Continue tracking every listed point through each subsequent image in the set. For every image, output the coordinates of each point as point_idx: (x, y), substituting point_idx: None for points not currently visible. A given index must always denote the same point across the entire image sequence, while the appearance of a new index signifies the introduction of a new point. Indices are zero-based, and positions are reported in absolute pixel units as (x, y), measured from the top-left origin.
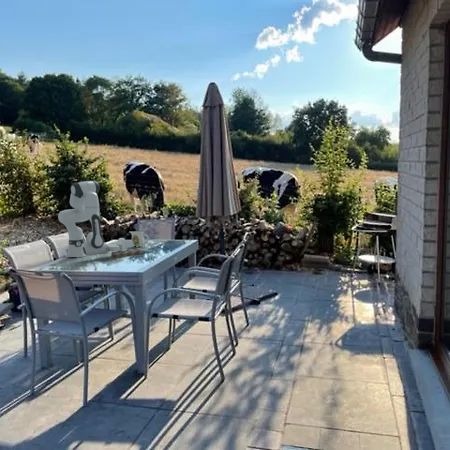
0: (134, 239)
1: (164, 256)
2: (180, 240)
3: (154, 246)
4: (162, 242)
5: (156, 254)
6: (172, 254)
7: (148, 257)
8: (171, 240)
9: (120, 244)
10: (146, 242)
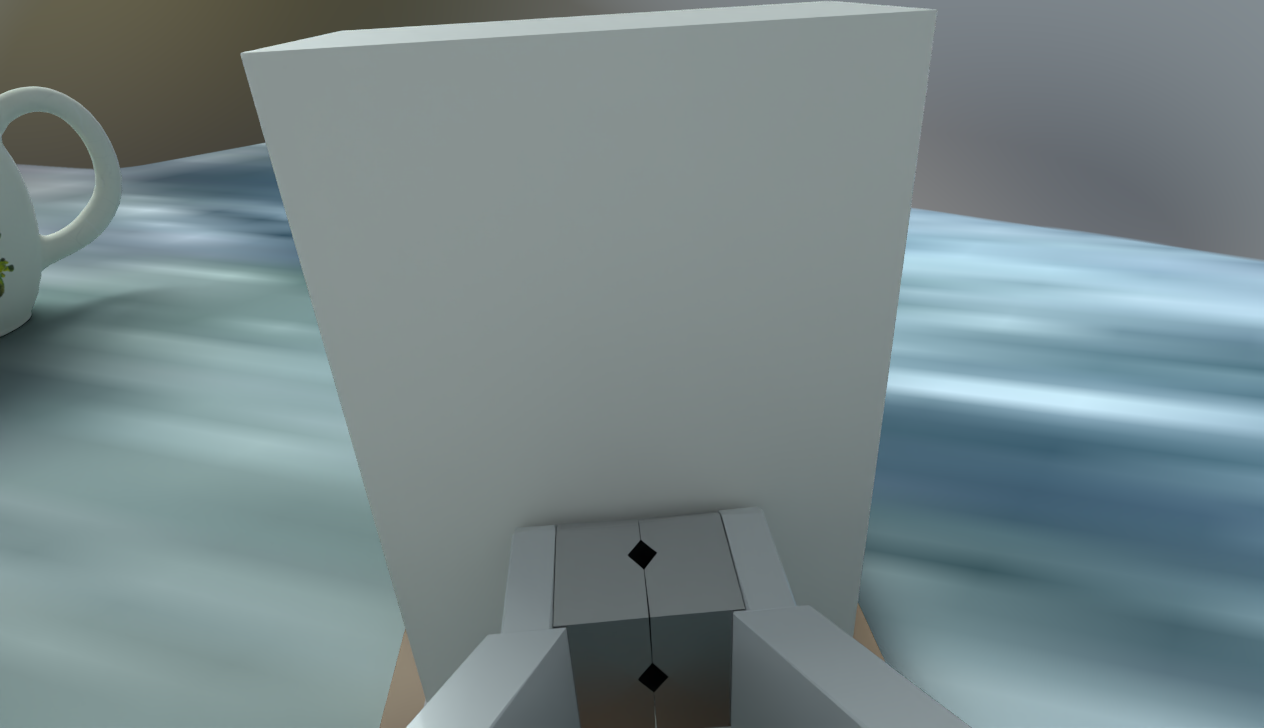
0: None
1: (1163, 273)
2: (236, 153)
3: (240, 247)
4: (124, 200)
5: (917, 299)
6: (1006, 225)
7: (1245, 397)
8: (141, 171)
9: (631, 465)
10: (106, 220)
